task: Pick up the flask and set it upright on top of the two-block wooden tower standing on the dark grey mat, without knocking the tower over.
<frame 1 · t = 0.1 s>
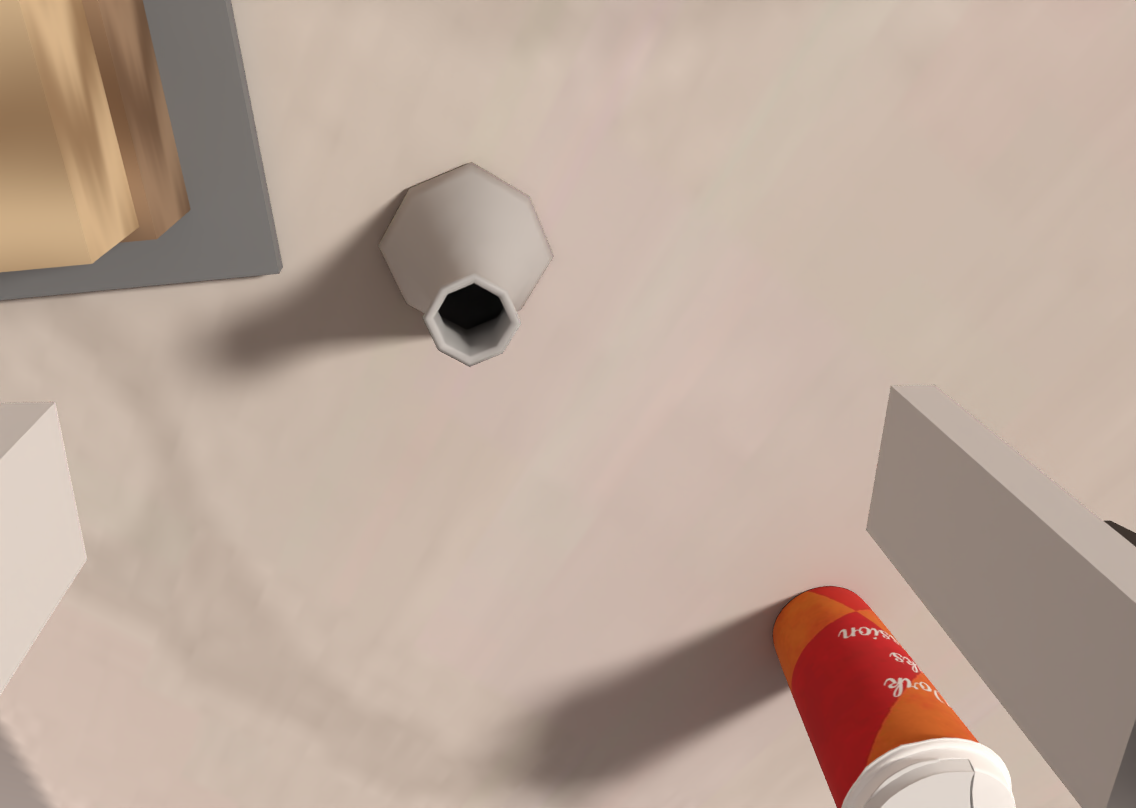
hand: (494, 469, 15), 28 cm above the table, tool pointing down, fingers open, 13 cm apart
walnut block: (27, 92, 37), point 1 cm above the table, touching grey mat, oak block
flask: (466, 248, 42), on the table
grey mat: (38, 89, 38), on the table
paper cup: (819, 624, 53), on the table
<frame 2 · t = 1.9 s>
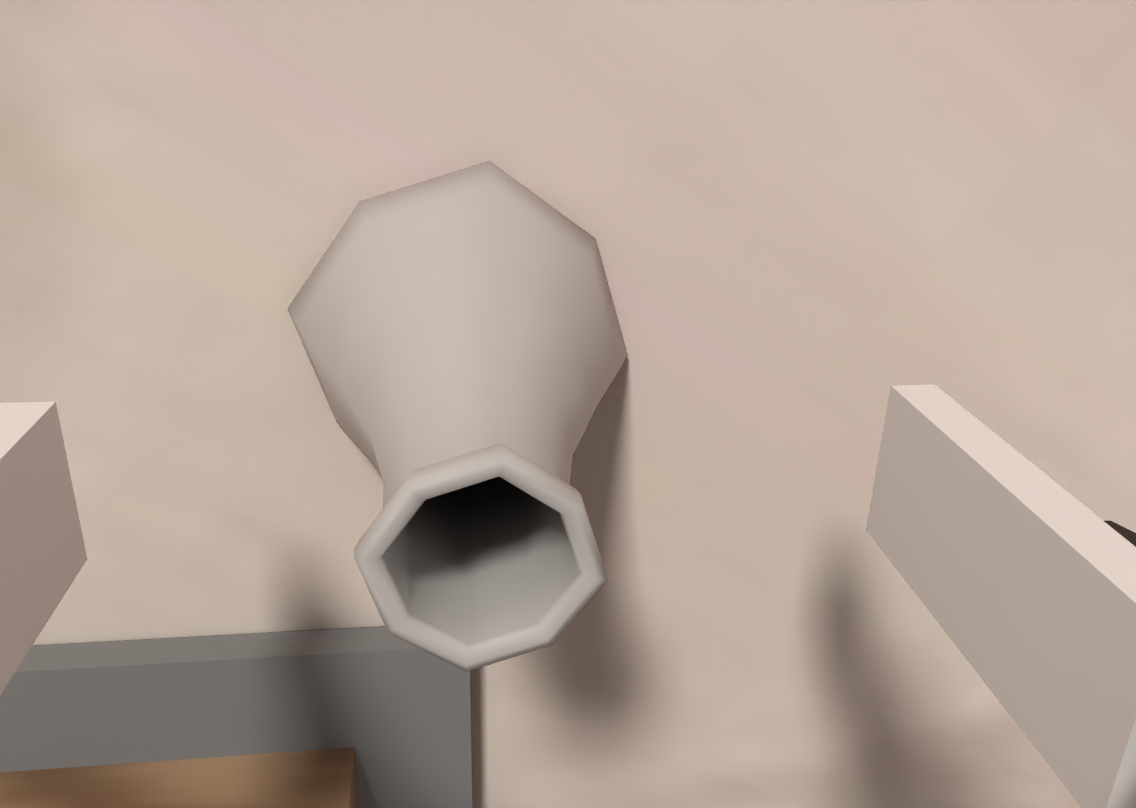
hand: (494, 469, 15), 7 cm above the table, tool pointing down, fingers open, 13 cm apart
flask: (462, 325, 22), on the table
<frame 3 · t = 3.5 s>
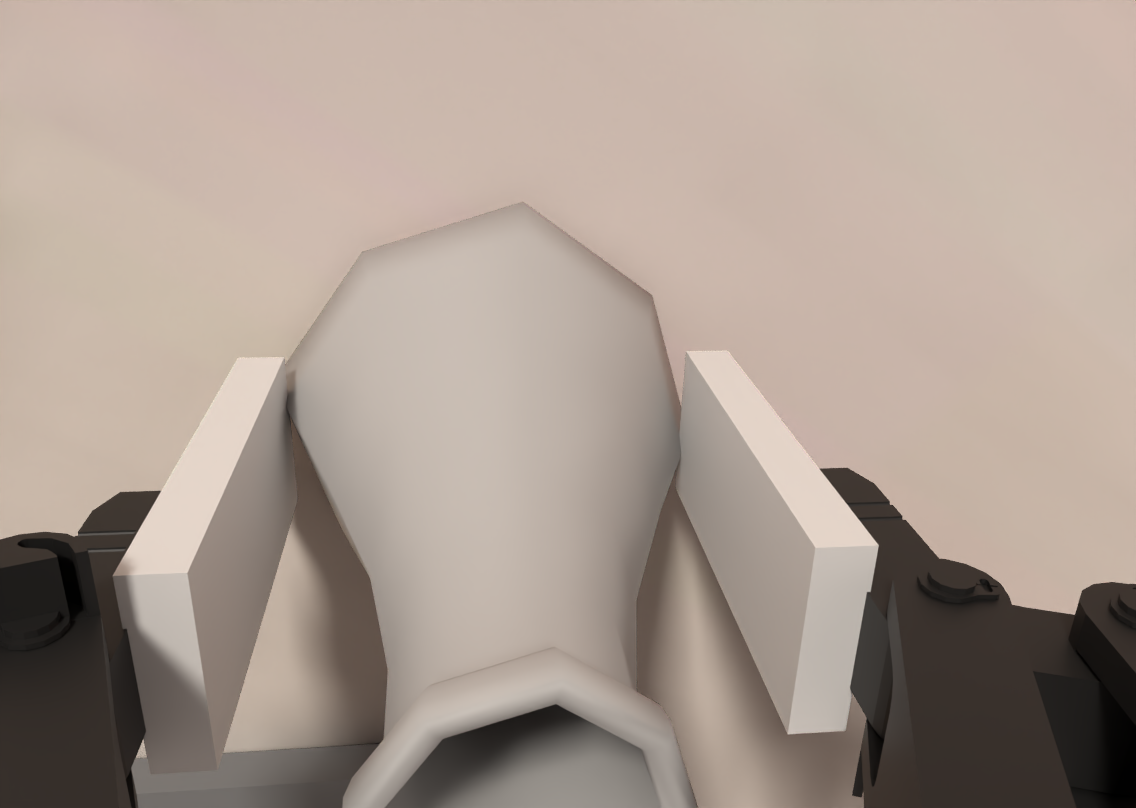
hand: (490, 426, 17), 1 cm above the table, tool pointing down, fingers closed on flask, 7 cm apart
flask: (487, 397, 18), on the table, touching gripper
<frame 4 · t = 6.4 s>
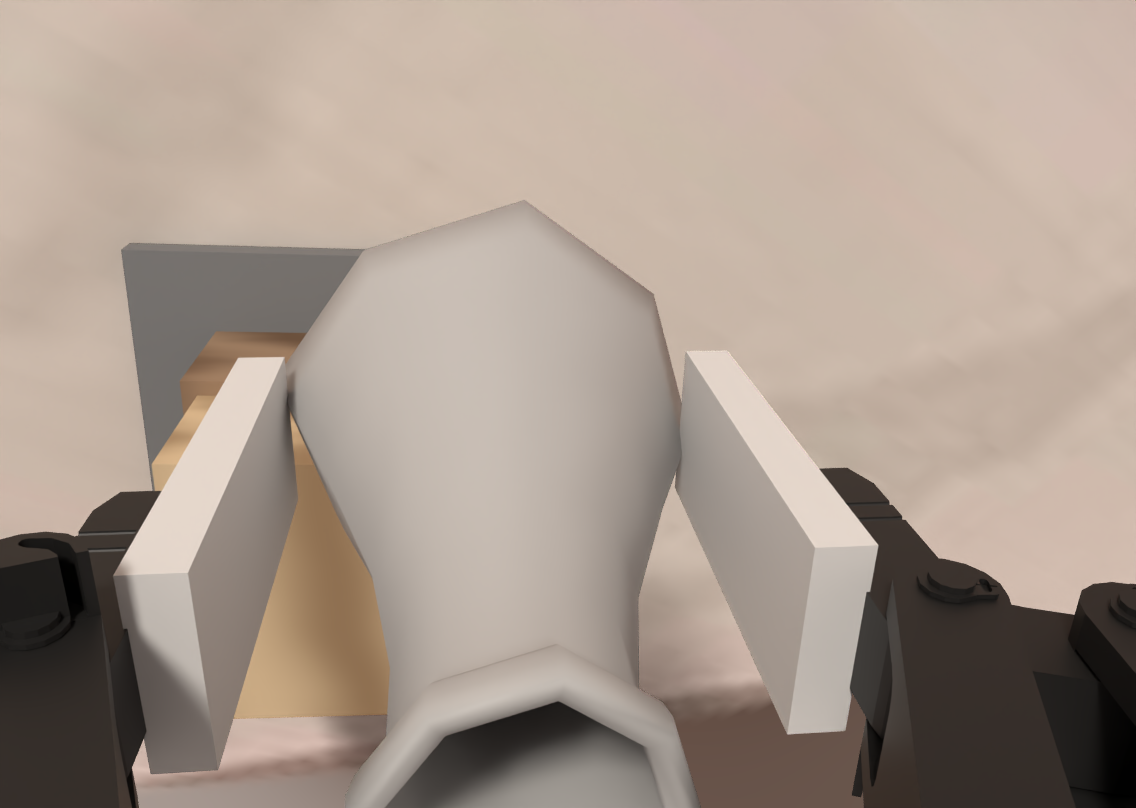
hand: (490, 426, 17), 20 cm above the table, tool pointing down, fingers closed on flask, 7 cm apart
walnut block: (357, 452, 38), point 1 cm above the table, touching grey mat, oak block
oak block: (343, 515, 33), point 6 cm above the table, touching walnut block
flask: (489, 396, 18), point 19 cm above the table, touching gripper
grey mat: (359, 442, 39), on the table
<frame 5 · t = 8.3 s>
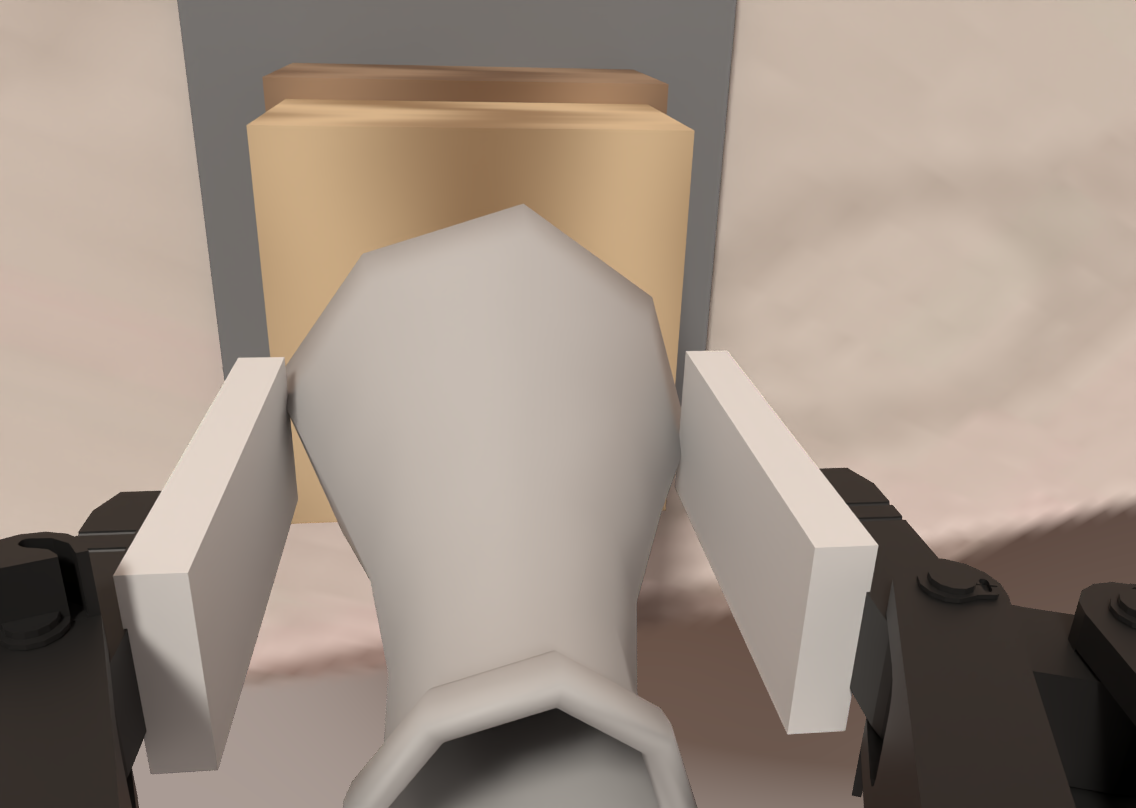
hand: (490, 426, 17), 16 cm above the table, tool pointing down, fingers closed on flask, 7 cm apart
walnut block: (469, 233, 30), point 1 cm above the table, touching grey mat, oak block
oak block: (473, 276, 26), point 6 cm above the table, touching walnut block
flask: (488, 399, 18), point 14 cm above the table, touching gripper
grey mat: (468, 226, 31), on the table
when the fingers open (13 cm above the table, at t = 9.6 s): flask drops 1 cm, resting on oak block.
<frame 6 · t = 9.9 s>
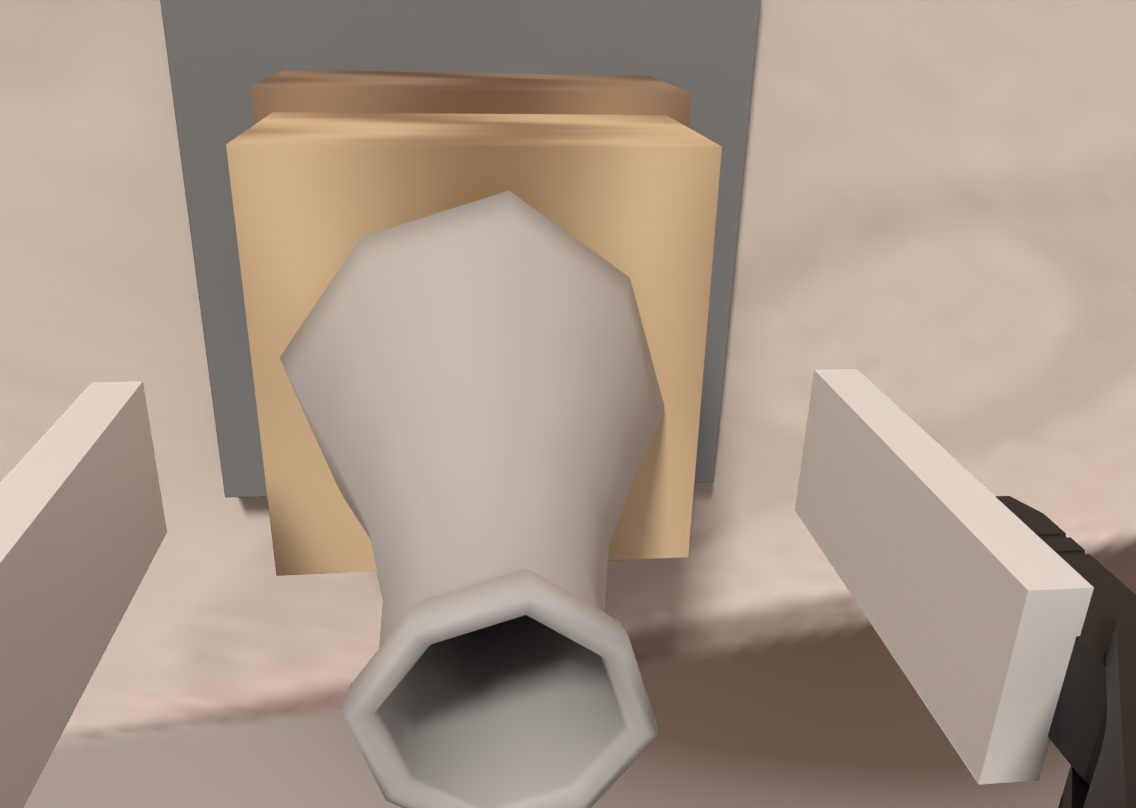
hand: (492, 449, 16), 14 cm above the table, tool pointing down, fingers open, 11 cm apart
walnut block: (474, 251, 28), point 1 cm above the table, touching grey mat, oak block
oak block: (477, 301, 24), point 6 cm above the table, touching flask, walnut block
flask: (478, 374, 19), point 11 cm above the table, touching oak block
grey mat: (472, 242, 29), on the table
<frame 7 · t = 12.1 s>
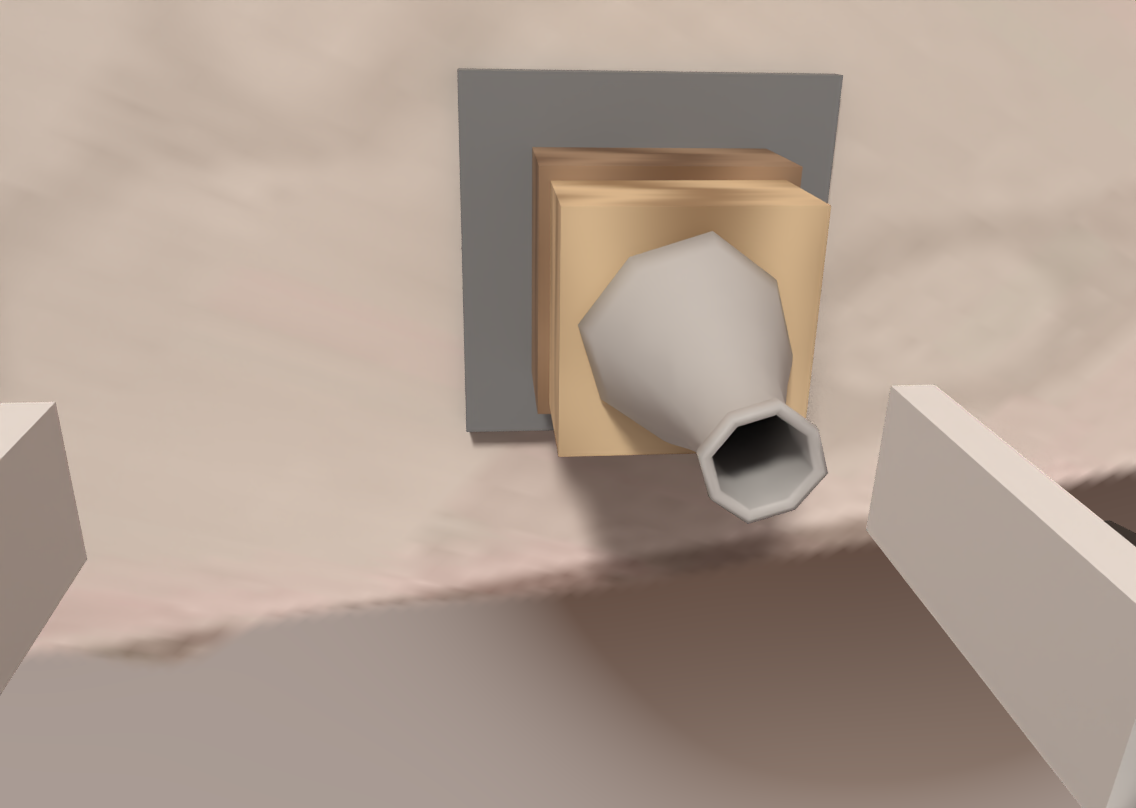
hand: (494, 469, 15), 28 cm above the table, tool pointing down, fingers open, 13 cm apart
walnut block: (644, 263, 42), point 1 cm above the table, touching grey mat, oak block
oak block: (663, 295, 38), point 6 cm above the table, touching flask, walnut block
flask: (684, 335, 33), point 11 cm above the table, touching oak block
grey mat: (640, 258, 43), on the table
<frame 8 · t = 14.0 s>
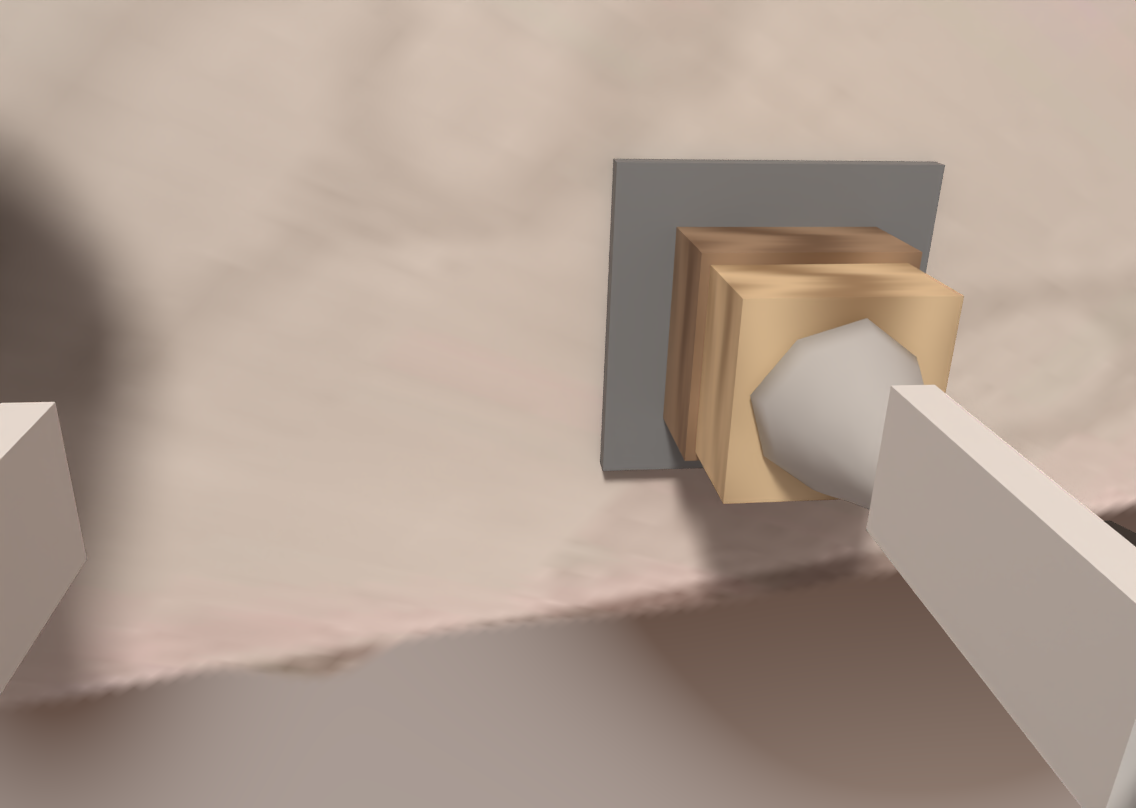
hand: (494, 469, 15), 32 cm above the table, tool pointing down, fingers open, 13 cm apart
walnut block: (766, 325, 48), point 1 cm above the table, touching grey mat, oak block
oak block: (798, 360, 44), point 6 cm above the table, touching flask, walnut block
flask: (834, 402, 39), point 11 cm above the table, touching oak block
grey mat: (760, 318, 49), on the table
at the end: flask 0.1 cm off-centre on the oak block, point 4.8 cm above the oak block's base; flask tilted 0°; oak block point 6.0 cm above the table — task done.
